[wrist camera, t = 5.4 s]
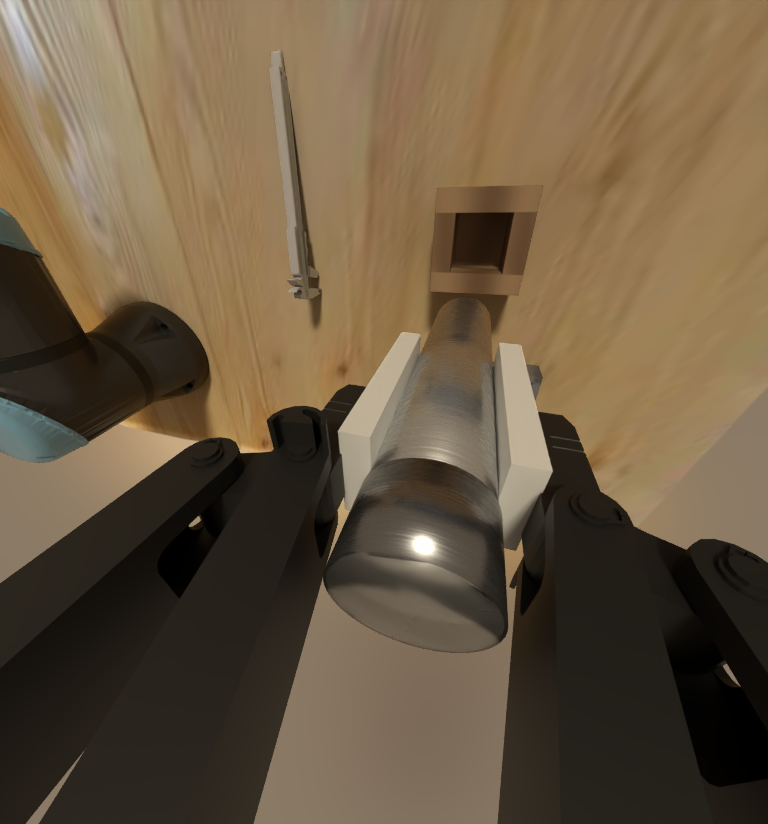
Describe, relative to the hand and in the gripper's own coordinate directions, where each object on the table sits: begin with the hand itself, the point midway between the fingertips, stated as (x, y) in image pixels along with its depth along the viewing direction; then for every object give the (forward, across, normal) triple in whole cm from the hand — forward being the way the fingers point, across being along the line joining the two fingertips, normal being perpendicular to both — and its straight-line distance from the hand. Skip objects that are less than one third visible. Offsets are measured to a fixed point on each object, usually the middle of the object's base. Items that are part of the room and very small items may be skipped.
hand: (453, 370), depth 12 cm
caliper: (+25, -19, +6) cm, 32 cm away
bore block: (+25, 0, +3) cm, 25 cm away
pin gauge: (+6, 0, 0) cm, 6 cm away
